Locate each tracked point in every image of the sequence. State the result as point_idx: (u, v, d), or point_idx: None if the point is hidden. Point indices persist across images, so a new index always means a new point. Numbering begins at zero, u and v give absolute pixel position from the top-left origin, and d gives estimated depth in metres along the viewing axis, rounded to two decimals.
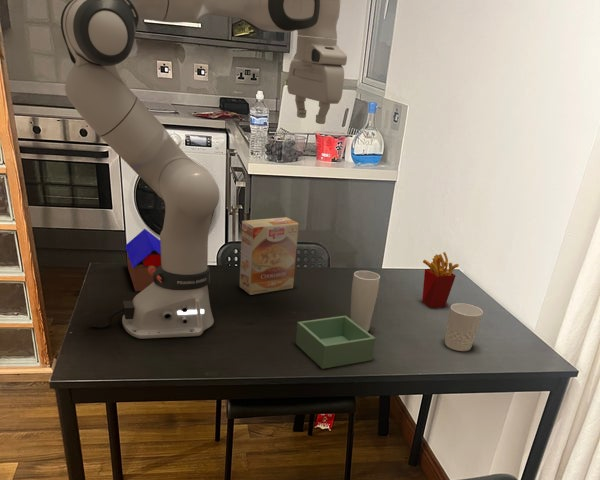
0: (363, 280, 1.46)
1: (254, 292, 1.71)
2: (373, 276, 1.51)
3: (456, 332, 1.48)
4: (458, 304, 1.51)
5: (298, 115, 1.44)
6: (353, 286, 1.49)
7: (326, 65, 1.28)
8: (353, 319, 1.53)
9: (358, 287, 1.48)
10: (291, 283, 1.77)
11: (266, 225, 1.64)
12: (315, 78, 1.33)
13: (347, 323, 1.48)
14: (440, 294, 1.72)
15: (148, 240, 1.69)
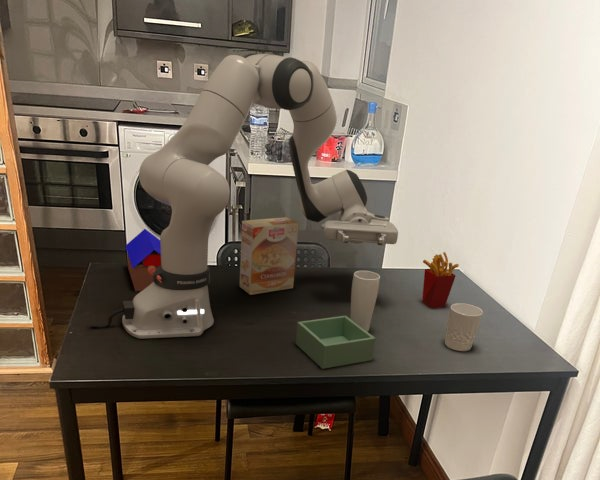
0: (363, 280, 1.46)
1: (254, 292, 1.71)
2: (373, 276, 1.51)
3: (456, 332, 1.48)
4: (458, 304, 1.51)
5: (346, 236, 1.56)
6: (353, 286, 1.49)
7: None
8: (353, 319, 1.53)
9: (358, 287, 1.48)
10: (291, 283, 1.77)
11: (266, 225, 1.64)
12: (372, 226, 1.64)
13: (347, 323, 1.48)
14: (440, 294, 1.72)
15: (148, 240, 1.69)
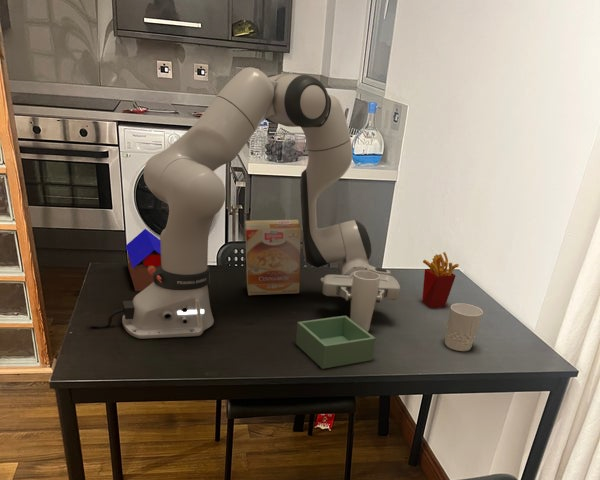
0: (363, 280, 1.46)
1: (252, 293, 1.70)
2: (373, 276, 1.51)
3: (456, 332, 1.48)
4: (458, 304, 1.51)
5: (349, 294, 1.51)
6: (353, 286, 1.49)
7: None
8: (353, 319, 1.53)
9: (358, 287, 1.48)
10: (296, 288, 1.71)
11: (262, 228, 1.60)
12: None
13: (347, 323, 1.48)
14: (440, 294, 1.72)
15: (148, 240, 1.69)
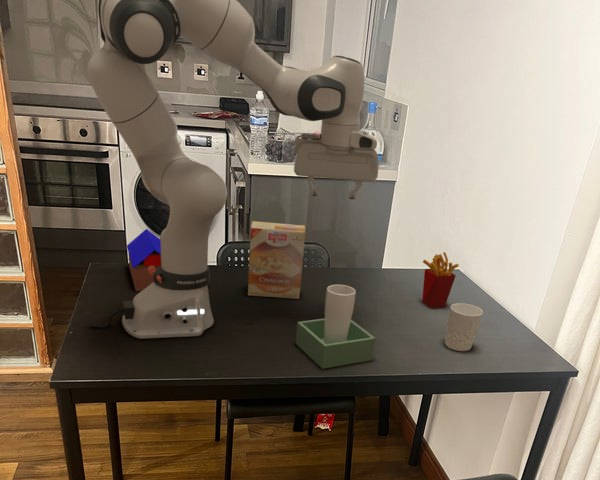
0: (337, 295, 1.34)
1: (252, 293, 1.70)
2: (348, 291, 1.39)
3: (456, 332, 1.48)
4: (458, 304, 1.51)
5: (314, 194, 1.46)
6: (326, 302, 1.37)
7: (373, 149, 1.40)
8: (327, 337, 1.40)
9: (331, 303, 1.35)
10: (296, 293, 1.70)
11: (267, 228, 1.61)
12: (352, 160, 1.41)
13: None
14: (440, 294, 1.72)
15: (149, 240, 1.69)
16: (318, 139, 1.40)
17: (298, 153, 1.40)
